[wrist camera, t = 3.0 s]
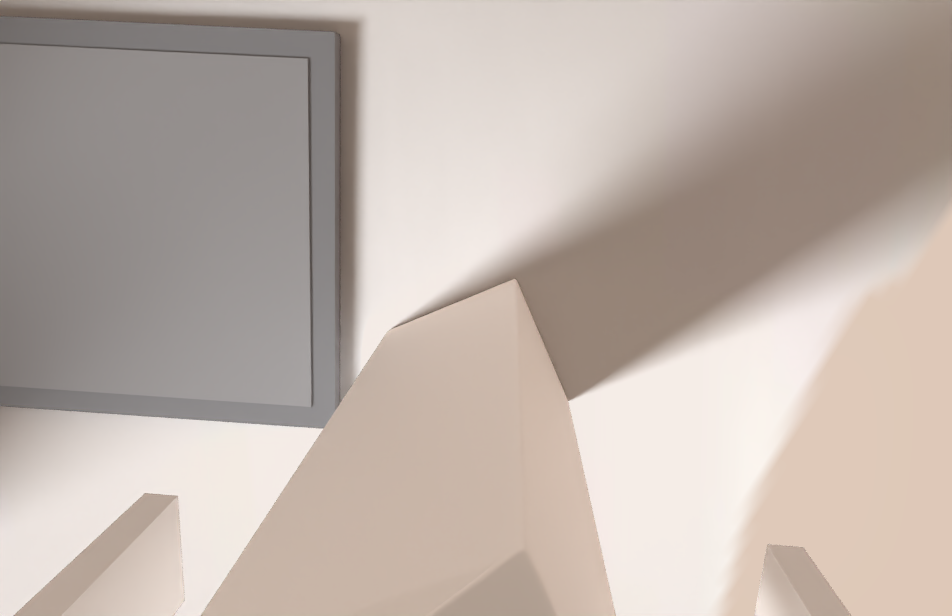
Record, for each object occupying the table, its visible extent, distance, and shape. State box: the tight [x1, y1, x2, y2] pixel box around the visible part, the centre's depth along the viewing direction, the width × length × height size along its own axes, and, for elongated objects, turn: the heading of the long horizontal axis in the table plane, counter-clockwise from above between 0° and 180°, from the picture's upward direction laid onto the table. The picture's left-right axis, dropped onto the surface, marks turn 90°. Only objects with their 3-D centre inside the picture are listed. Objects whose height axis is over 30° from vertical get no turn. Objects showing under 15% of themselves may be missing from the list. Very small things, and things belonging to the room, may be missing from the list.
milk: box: [201, 279, 616, 616], centre depth 18 cm, size 6×6×22 cm
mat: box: [0, 16, 340, 429], centre depth 27 cm, size 16×16×1 cm
